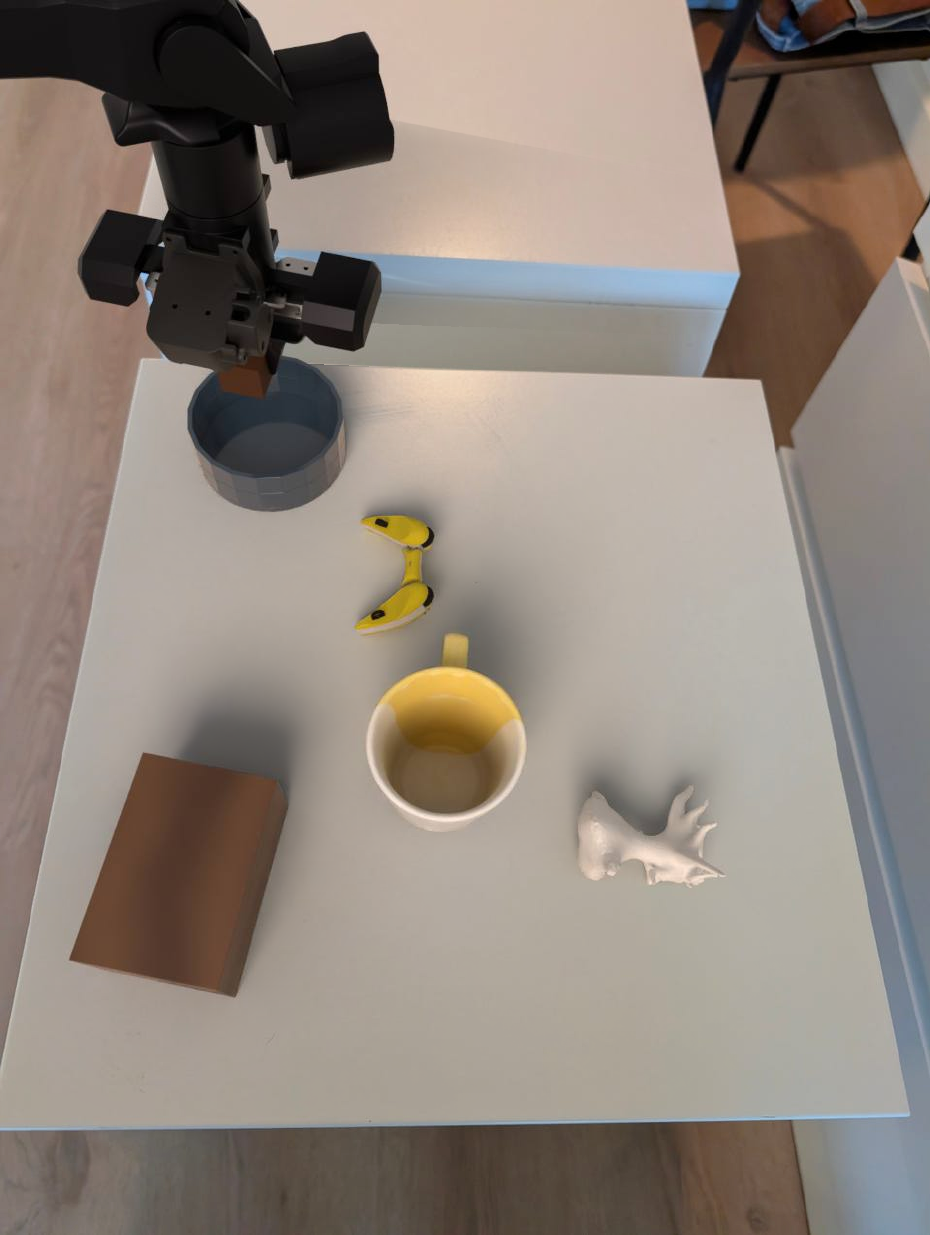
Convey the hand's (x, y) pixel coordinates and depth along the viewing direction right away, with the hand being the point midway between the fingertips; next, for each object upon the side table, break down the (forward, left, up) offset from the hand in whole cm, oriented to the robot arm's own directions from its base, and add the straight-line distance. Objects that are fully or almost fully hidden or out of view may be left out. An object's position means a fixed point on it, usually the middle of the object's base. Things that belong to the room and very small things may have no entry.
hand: (251, 365), depth 67 cm
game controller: (+13, -9, -12) cm, 20 cm away
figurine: (+35, -26, -12) cm, 45 cm away
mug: (+20, -23, -12) cm, 33 cm away
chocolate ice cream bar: (0, +2, -1) cm, 2 cm away
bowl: (0, +1, -12) cm, 12 cm away
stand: (+5, -35, -12) cm, 37 cm away
